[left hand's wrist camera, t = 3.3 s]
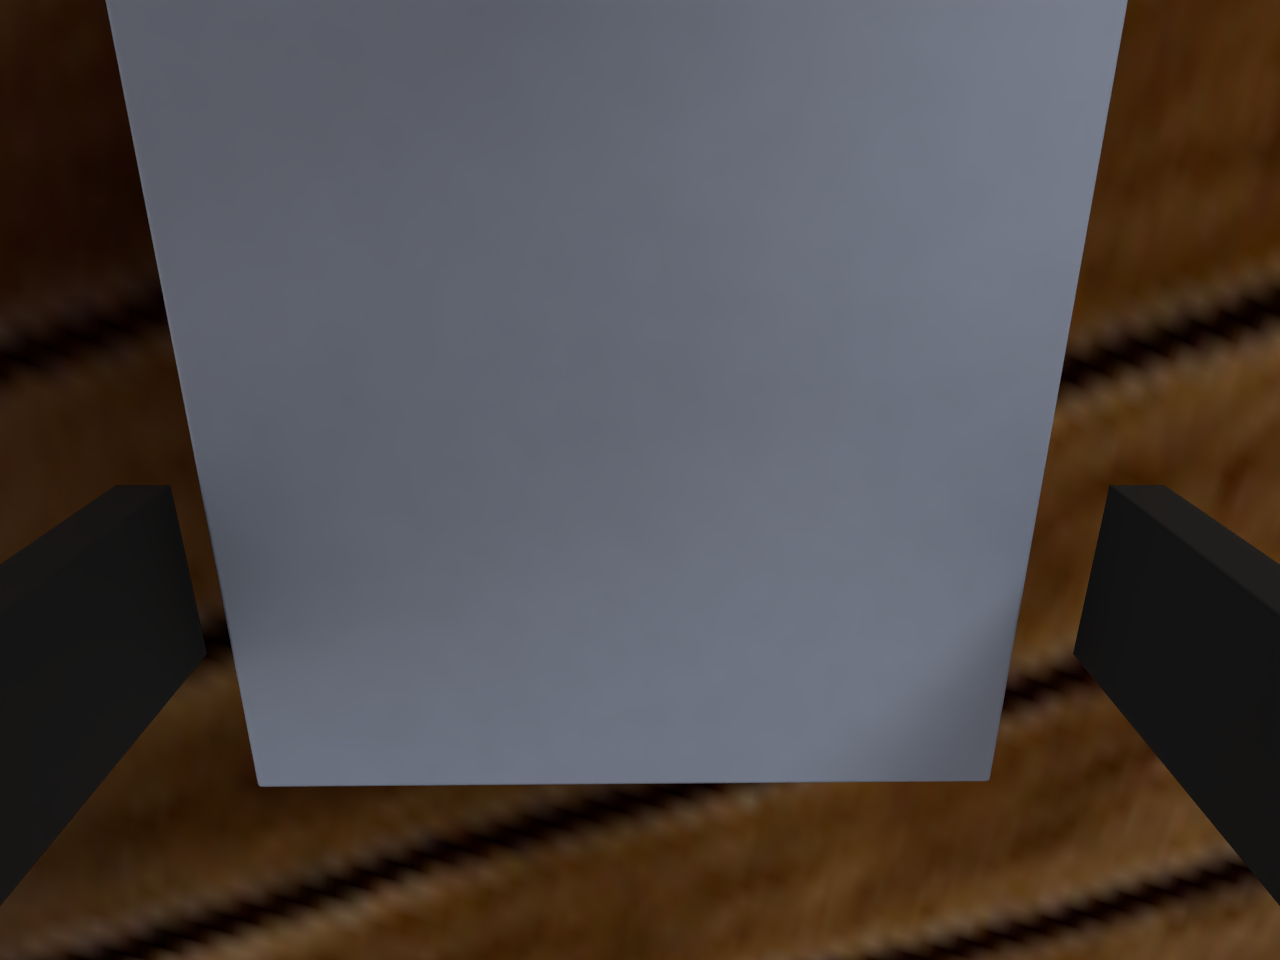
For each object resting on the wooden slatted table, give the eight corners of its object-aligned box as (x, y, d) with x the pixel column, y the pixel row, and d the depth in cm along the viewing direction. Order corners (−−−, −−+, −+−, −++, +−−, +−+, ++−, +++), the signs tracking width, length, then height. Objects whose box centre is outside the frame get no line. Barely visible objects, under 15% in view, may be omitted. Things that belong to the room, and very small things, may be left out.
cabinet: (300, -417, 15) (-118, -1126, 7) (939, -413, 16) (1327, -1102, 7) (402, 534, 22) (257, 788, 13) (850, 532, 22) (990, 782, 14)
